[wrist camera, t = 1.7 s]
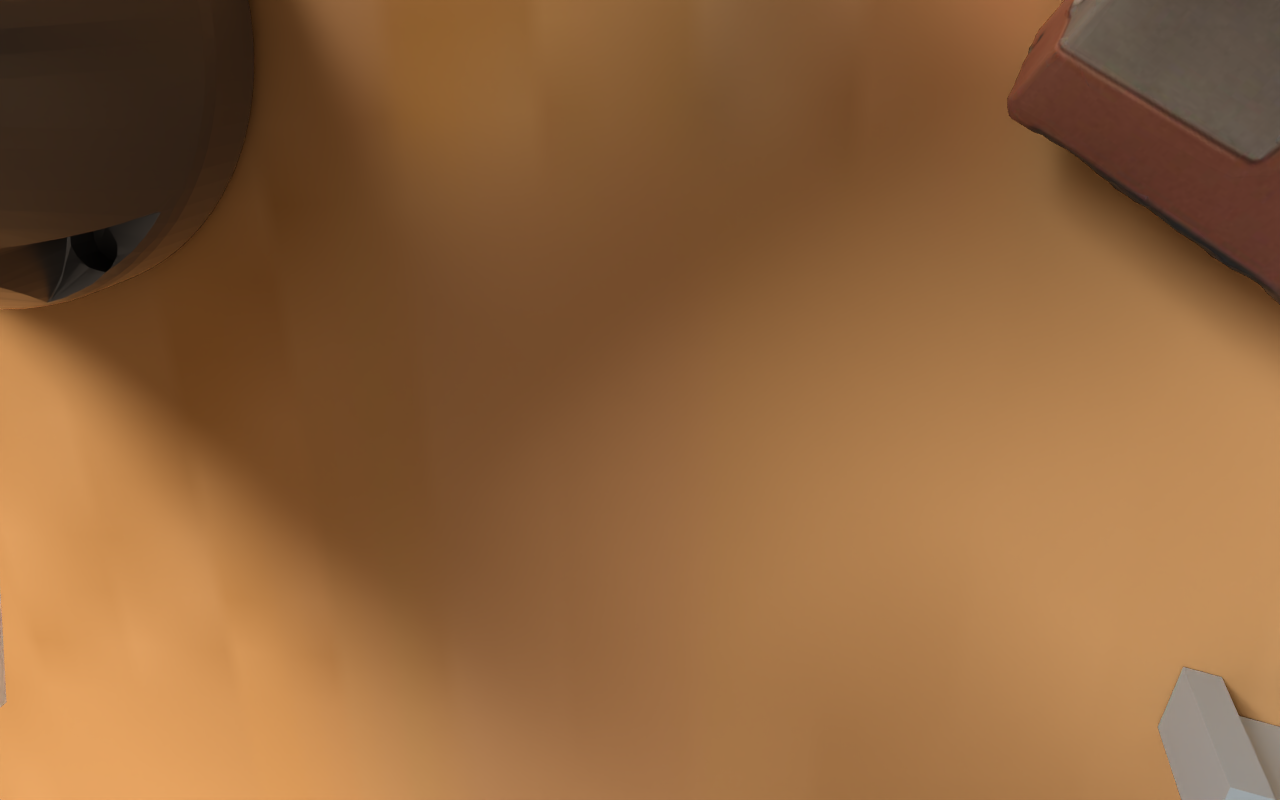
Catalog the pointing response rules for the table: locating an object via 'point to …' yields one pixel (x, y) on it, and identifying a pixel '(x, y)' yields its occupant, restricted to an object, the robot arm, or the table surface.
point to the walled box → (1217, 744)
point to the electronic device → (1170, 114)
